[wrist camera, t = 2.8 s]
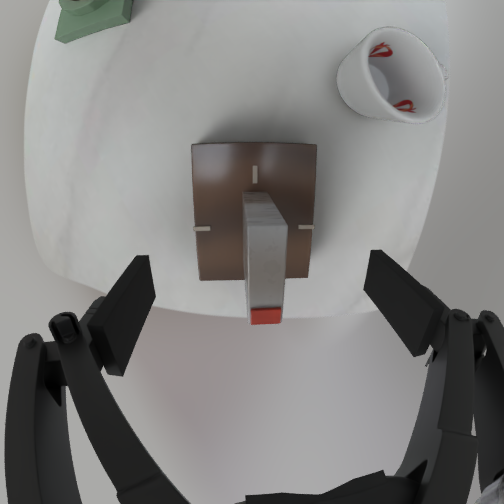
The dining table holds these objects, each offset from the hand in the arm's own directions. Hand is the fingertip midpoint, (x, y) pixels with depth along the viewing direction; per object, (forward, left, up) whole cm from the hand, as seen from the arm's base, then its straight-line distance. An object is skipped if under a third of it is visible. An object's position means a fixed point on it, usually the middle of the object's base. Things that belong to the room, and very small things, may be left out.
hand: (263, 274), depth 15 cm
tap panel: (-1, 0, -11) cm, 11 cm away
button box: (-26, -16, -11) cm, 33 cm away
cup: (-14, +12, -11) cm, 22 cm away
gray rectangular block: (0, 0, -8) cm, 8 cm away
